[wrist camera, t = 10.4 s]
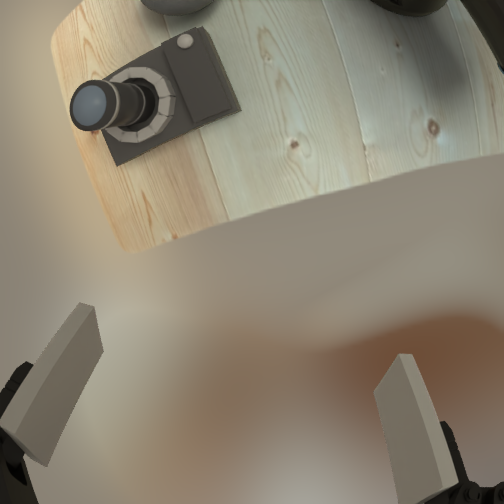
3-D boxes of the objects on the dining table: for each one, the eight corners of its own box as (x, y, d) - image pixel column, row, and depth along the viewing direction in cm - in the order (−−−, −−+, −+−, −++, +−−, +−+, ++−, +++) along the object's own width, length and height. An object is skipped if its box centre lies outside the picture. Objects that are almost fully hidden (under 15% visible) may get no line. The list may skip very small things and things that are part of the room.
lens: (121, 85, 28) (70, 81, 19) (158, 85, 28) (114, 77, 19) (118, 123, 30) (66, 132, 21) (153, 124, 30) (108, 132, 21)
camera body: (209, 34, 29) (197, 20, 23) (241, 110, 33) (236, 110, 27) (101, 91, 32) (74, 91, 26) (130, 160, 36) (106, 171, 31)
